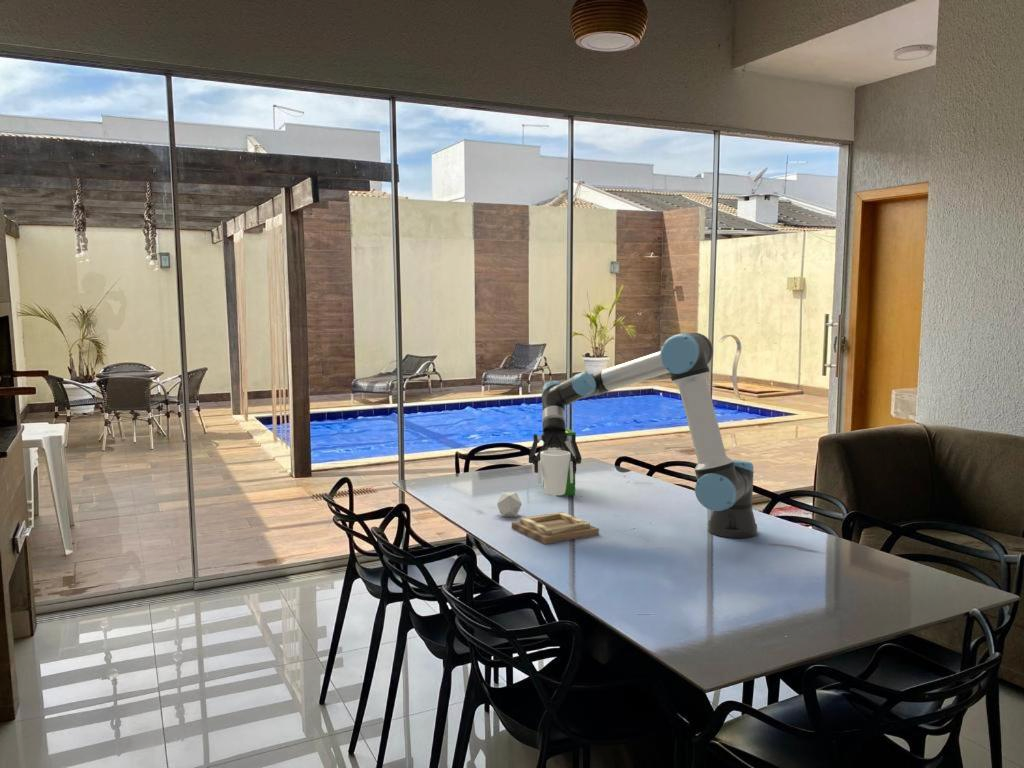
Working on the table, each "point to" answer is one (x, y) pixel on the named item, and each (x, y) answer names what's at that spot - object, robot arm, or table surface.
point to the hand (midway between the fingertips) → (555, 480)
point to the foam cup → (555, 470)
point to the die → (509, 504)
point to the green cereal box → (569, 486)
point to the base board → (554, 536)
